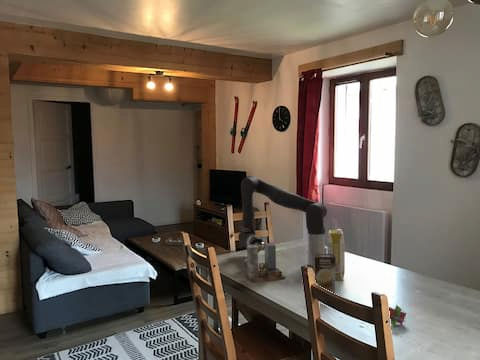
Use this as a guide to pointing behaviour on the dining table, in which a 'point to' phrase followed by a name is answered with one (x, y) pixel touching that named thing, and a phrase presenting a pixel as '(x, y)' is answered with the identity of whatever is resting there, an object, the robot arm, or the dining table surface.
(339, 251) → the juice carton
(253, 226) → the robot arm
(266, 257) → the grey clamp fixture
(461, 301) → the dining table surface
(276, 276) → the hinge jig
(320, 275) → the coffee box
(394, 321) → the geometric puzzle
